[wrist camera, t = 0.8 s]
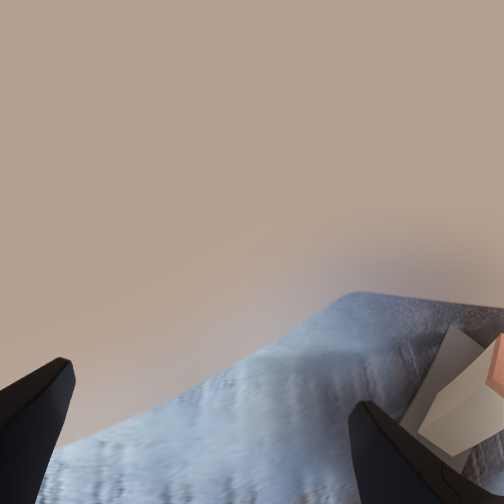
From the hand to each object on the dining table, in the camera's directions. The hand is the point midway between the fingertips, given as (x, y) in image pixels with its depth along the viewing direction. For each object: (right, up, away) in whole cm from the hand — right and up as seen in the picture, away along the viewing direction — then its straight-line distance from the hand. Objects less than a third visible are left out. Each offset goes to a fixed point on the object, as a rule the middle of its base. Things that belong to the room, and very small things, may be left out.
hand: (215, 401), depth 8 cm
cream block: (+19, -12, +12) cm, 25 cm away
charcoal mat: (+22, -10, +15) cm, 29 cm away
